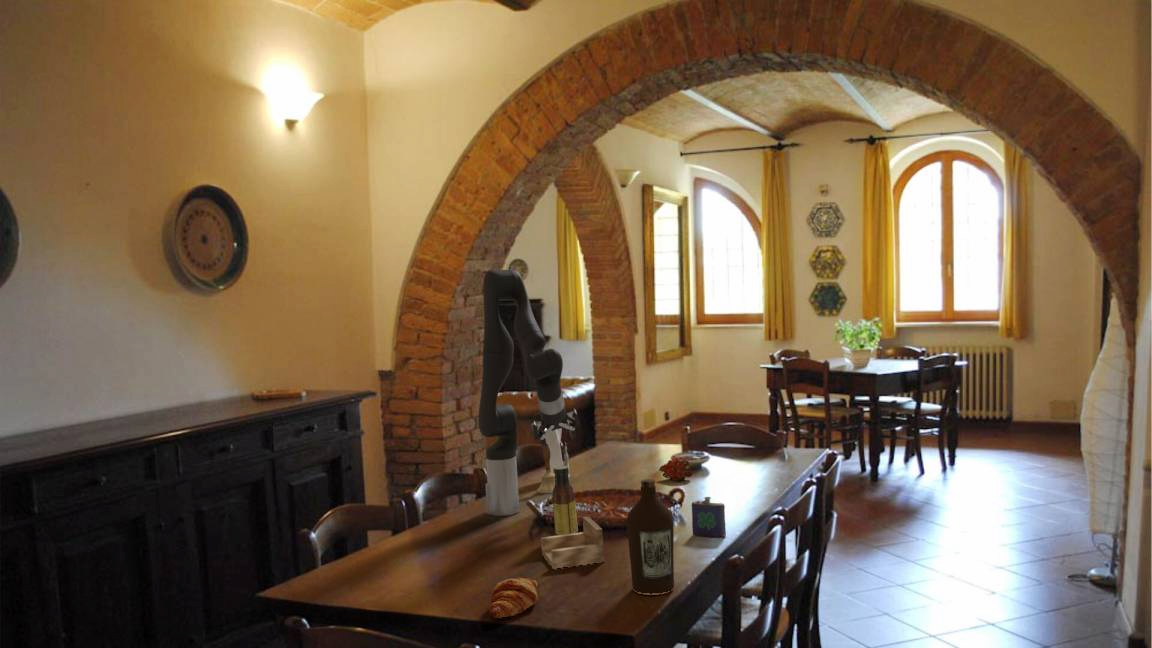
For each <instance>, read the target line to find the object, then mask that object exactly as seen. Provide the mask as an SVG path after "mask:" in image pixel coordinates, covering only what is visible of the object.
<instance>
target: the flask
mask: <svg viewBox="0 0 1152 648" xmlns="http://www.w3.org/2000/svg"><path fill="white" fill-rule="evenodd" d="M711 498H712V497H710V496H705V497H704V500H699V499H698V500H697V501H693V502H691V514H692V515H691V520H692V521H691V523H692V525H691V526H692V528H691V529H692V536H694V537H699V538H700V537H701V538H711V539H712V538H714V539H715V538H716V539H724V538H726V537H727V536H726V535H727V531H726V515H725V510H726V508H725V507H726V506H725V504H724V503H721V502H719V503H718V502H717V503H715V502H711V501H710V499H711Z"/></svg>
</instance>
